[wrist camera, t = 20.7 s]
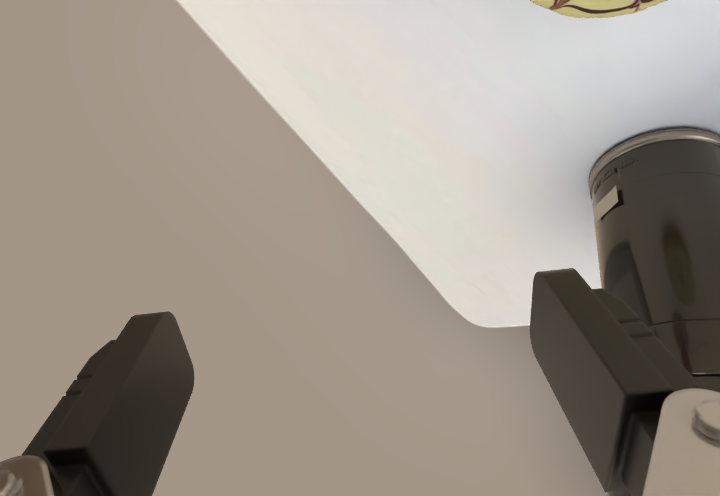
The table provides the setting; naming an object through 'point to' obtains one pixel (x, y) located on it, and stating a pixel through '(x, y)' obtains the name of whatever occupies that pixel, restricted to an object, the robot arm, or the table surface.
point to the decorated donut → (596, 7)
